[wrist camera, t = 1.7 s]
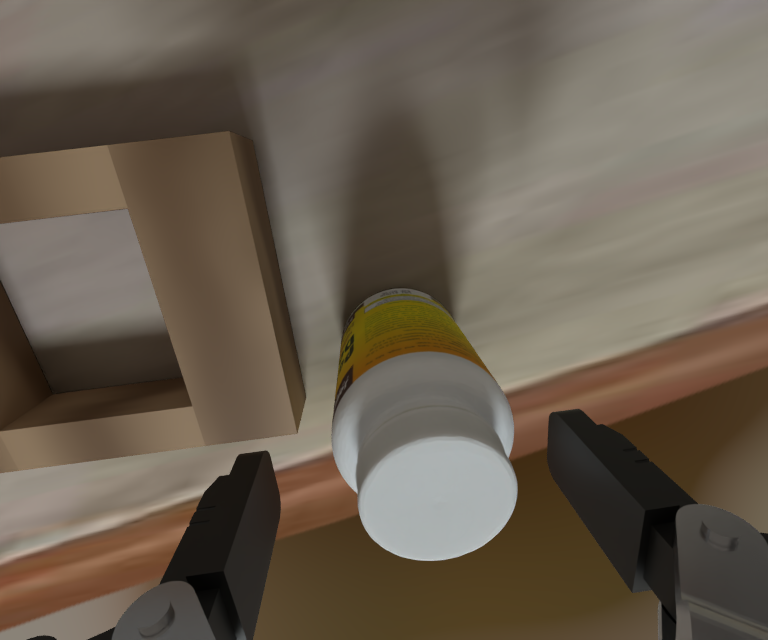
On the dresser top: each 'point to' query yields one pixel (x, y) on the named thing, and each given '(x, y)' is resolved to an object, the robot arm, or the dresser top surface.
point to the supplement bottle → (421, 429)
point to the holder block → (176, 299)
